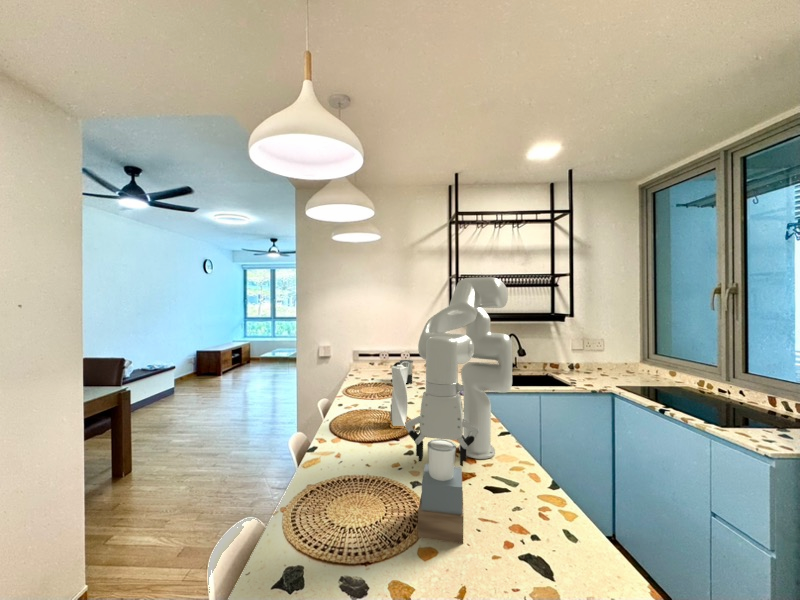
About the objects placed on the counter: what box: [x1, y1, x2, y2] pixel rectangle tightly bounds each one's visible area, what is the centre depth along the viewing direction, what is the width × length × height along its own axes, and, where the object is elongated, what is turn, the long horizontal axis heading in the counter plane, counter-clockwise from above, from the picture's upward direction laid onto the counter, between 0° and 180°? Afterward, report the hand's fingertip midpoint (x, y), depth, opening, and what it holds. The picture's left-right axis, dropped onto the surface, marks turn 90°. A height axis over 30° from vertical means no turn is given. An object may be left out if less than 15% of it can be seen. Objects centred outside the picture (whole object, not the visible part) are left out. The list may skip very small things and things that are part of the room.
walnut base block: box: [417, 490, 464, 545], centre depth 76 cm, size 10×10×6 cm
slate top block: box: [421, 463, 463, 515], centre depth 76 cm, size 9×9×6 cm
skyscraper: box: [389, 361, 410, 426], centre depth 139 cm, size 8×8×28 cm
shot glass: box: [426, 438, 457, 481], centre depth 76 cm, size 7×7×7 cm
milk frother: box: [390, 359, 414, 384], centre depth 215 cm, size 14×16×15 cm
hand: (440, 461), depth 76 cm, fingers open, 9 cm apart
